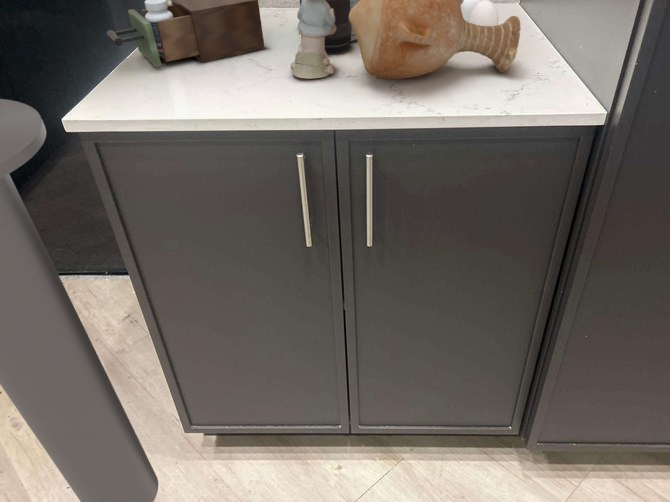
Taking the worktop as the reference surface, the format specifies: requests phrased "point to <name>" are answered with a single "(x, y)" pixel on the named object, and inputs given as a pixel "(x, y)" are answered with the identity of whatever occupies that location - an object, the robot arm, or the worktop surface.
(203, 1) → the cabinet
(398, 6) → the jug
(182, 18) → the drawer
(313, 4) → the figurine
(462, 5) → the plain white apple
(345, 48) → the camera lens
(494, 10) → the egg
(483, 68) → the worktop surface
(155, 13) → the pill bottle
